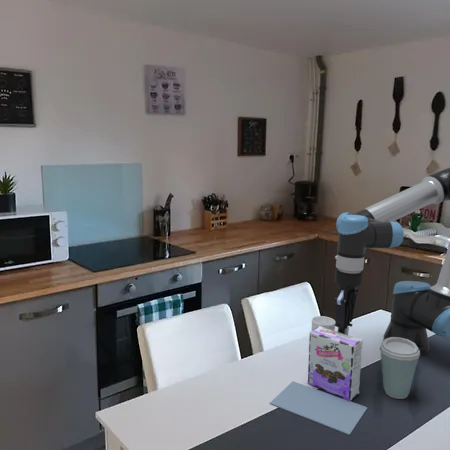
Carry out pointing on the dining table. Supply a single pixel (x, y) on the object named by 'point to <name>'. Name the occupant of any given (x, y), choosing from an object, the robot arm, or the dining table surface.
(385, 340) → the disposable coffee cup
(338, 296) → the robot arm
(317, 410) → the mat
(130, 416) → the dining table surface
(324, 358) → the candy box
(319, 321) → the white cup
